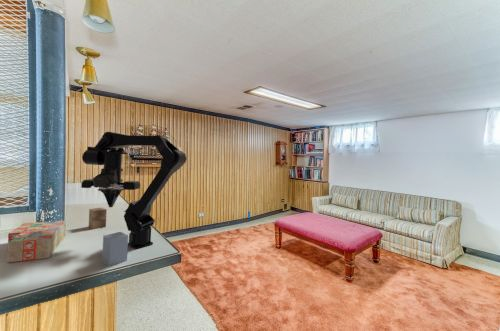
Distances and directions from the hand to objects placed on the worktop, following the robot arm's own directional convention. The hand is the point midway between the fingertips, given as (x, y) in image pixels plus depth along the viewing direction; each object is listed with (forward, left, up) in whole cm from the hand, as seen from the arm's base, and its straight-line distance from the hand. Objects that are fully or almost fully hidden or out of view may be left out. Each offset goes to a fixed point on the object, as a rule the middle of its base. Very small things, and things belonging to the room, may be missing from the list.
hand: (110, 207), depth 85 cm
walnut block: (-4, -22, -13) cm, 26 cm away
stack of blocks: (+13, -7, -10) cm, 18 cm away
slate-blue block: (+6, +18, -13) cm, 23 cm away
